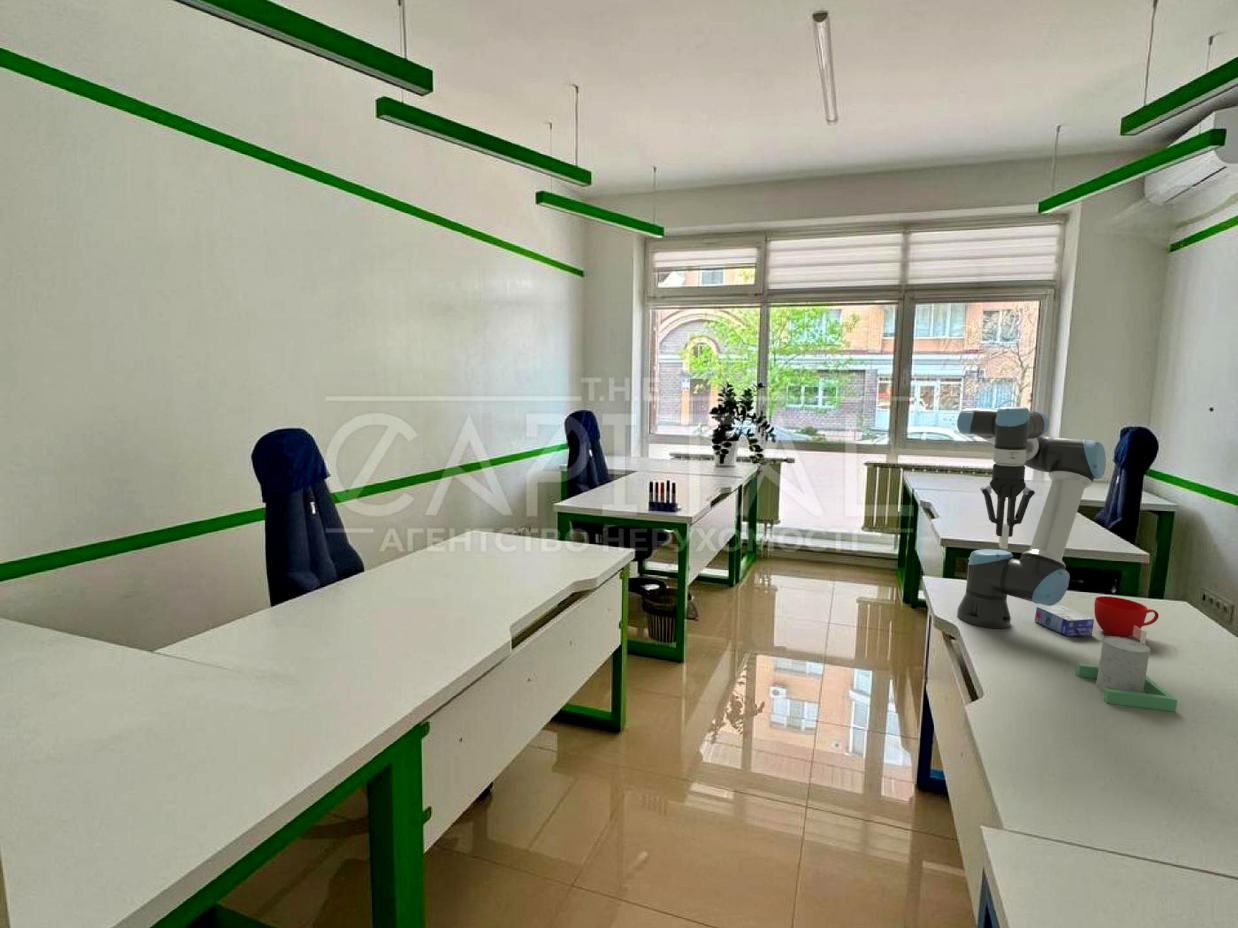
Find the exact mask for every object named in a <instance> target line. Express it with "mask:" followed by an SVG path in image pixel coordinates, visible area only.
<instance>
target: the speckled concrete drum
mask: <svg viewBox="0 0 1238 928" xmlns="http://www.w3.org/2000/svg"><path fill="white" fill-rule="evenodd" d="M1150 652H1151V648H1150V647H1149V646H1148V645H1147V644H1146V643H1145V644H1143V643H1140V641H1137V640H1134V639H1131V638H1122V637H1114V636H1111V635H1109V636H1104V637H1102V643H1101V652H1100V658H1099V662H1098V663H1099V664H1098V666H1099V670H1098V677H1097V678H1096V682H1095V685H1096V687H1097V688H1098V689H1100V690H1101V691H1102V692H1105V689H1114V690H1122V691H1130V692H1138V693H1144V684H1145V678H1146V676H1147V671H1148V670H1147V669H1148V664H1149V657H1150Z"/></svg>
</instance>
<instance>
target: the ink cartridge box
mask: <svg viewBox="0 0 1238 928" xmlns="http://www.w3.org/2000/svg"><path fill="white" fill-rule="evenodd" d="M1034 622H1035V623H1037V624H1039V625H1041V626H1043V627H1046V628H1048V629H1051V630H1053V631H1055V632H1057V633H1058V634H1061V635H1063V636H1065V637H1071V636H1072V637H1073V636H1075V637H1076V636H1092V635H1093V628H1094V623H1095V618H1093V617H1089V616H1088V615H1085V614H1082V613H1080V612H1078V611H1075V610H1073V609H1070V608H1068V607H1067V606H1064V605H1052V606H1047V605H1043V606H1036V611H1035V615H1034Z"/></svg>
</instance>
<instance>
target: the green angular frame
mask: <svg viewBox="0 0 1238 928" xmlns="http://www.w3.org/2000/svg"><path fill="white" fill-rule="evenodd" d="M1147 634H1148V633H1147V631H1146V630H1143V629H1142V628H1141V629H1140V628H1138V627H1137V626H1135V625H1134V629H1133V635H1132V636H1133V637H1135V638H1136V639H1138V640H1139V642H1140V643H1143V644H1145V645H1146V639H1147ZM1076 663H1077V662H1076ZM1098 670H1099V664H1098V665H1097V664H1090V663H1089V664H1087V663H1080V662H1079V663H1077V664H1076V671H1075V674H1076V676H1078V677H1081V678H1082V677H1083V678H1091V679H1097V677H1098ZM1103 692H1104V693H1103V698H1102V700H1103V701H1104V702H1105V703H1106V704H1113V705H1120V706H1128V707H1135V708H1142V709H1143V708H1146V709H1152V710H1160V711H1168V712H1175V713H1176V712H1177V705H1178V699H1177V698H1176V697H1175V696H1173V695H1172V694H1171V693H1170V692H1168V691H1167V690H1166V689H1164V688H1163V687H1162V686H1161V685H1159V684H1158V683H1157V682H1156V681H1154V680H1153V679H1152V678H1150V677H1149V676H1148V675H1146V678H1145V684H1144V690H1143V693H1138V692H1130V691H1122V690H1114V689H1105V691H1103Z"/></svg>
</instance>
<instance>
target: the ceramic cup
mask: <svg viewBox="0 0 1238 928" xmlns="http://www.w3.org/2000/svg"><path fill="white" fill-rule="evenodd" d="M1093 607H1094V608H1093V609H1094V611H1093V612H1094V617H1095V618H1094V619H1095V620H1096V623H1097V624H1098V626H1099V627H1100V629H1101V631H1103V633H1105V634H1106V635H1109V636H1114V637H1122V638H1127V639H1130V637H1132V636H1134V635H1133V629H1134V625H1135V626H1137V627H1138V628H1140V629H1141V630H1142V628H1143V627H1146V626H1149V625H1152V624H1154V623H1156V622H1157V620H1158V619H1159V613H1158V612H1157V611H1156V610H1154V609H1152V608H1150V609H1149V608H1148V607H1147V606H1146V605H1145V604H1143V603H1140V602H1137V601H1134V600H1130V599H1128V598H1127V599H1126V598H1121V597H1116V596H1107V595H1105V596H1097V597H1095V598H1094V606H1093ZM1150 613H1153V614H1154V616H1153V617H1152V618H1151V619H1150V620H1149V621H1146V618H1147V614H1150ZM1145 621H1146V622H1145Z"/></svg>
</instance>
